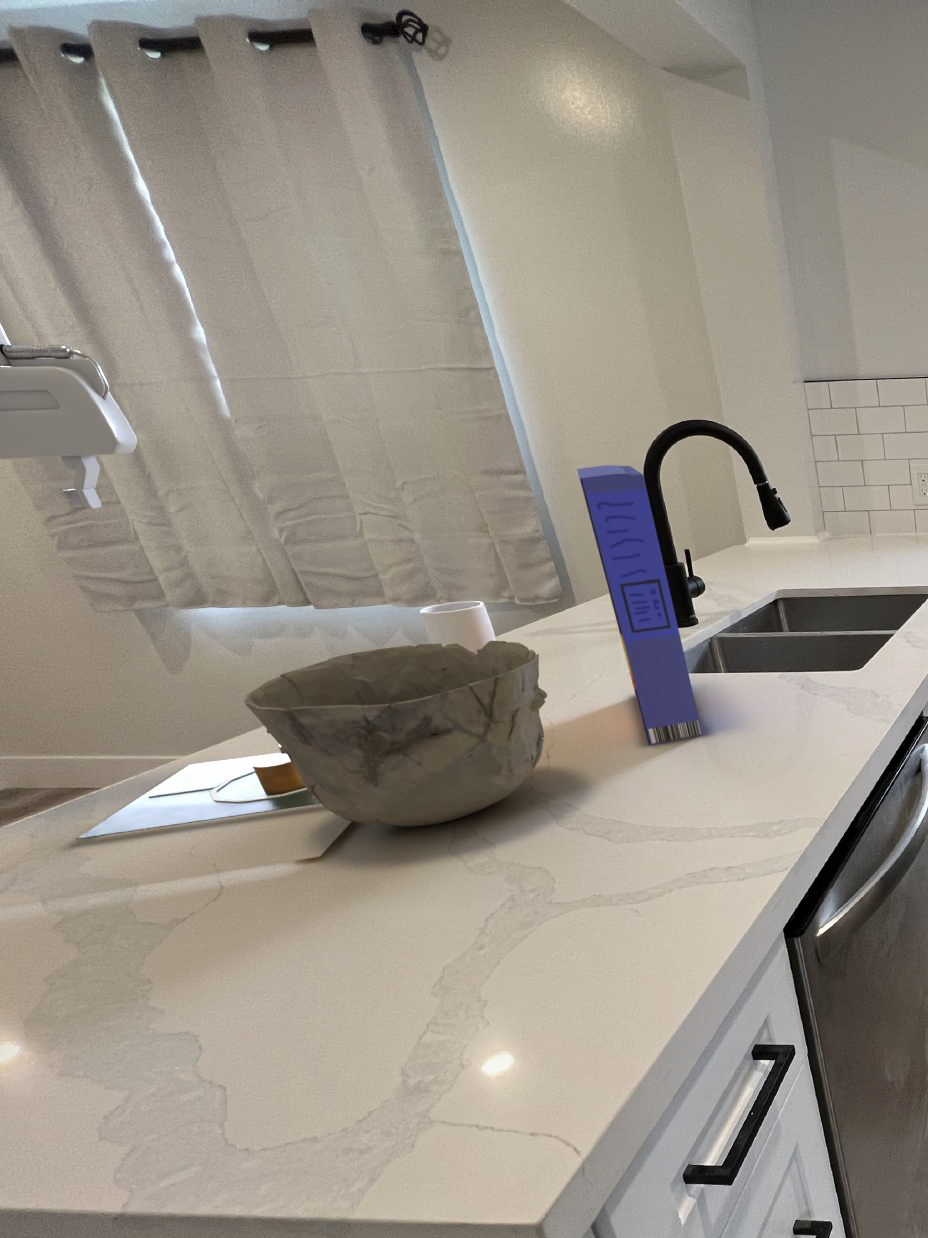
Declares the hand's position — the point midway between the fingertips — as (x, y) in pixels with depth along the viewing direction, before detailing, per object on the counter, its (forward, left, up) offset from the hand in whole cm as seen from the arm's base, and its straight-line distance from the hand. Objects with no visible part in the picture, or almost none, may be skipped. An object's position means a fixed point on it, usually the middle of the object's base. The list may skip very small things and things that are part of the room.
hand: (23, 512), depth 80 cm
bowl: (+31, -19, -29) cm, 47 cm away
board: (+9, -3, -29) cm, 31 cm away
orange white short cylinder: (+13, -6, -28) cm, 32 cm away
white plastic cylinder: (+28, +12, -29) cm, 42 cm away
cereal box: (+50, +4, -29) cm, 58 cm away
